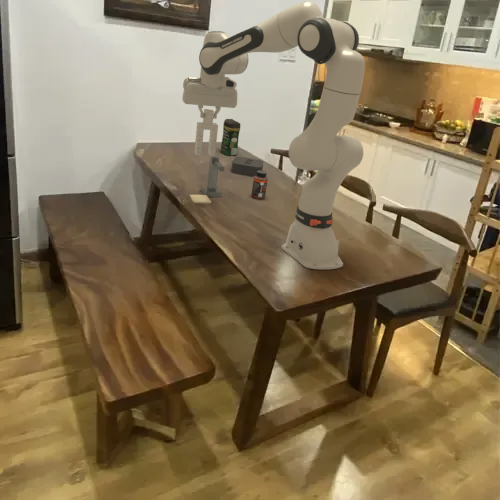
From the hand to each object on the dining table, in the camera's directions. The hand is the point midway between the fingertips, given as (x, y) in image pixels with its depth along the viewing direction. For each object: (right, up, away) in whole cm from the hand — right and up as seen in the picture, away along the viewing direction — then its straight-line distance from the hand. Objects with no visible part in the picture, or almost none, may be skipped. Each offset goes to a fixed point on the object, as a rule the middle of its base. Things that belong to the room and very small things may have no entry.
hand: (208, 118), depth 183 cm
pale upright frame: (-2, -13, +6) cm, 14 cm away
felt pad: (-4, -29, +14) cm, 33 cm away
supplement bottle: (+19, -27, +27) cm, 42 cm away
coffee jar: (+4, +3, +86) cm, 86 cm away
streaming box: (+14, -11, +60) cm, 62 cm away
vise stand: (0, -27, +19) cm, 33 cm away
